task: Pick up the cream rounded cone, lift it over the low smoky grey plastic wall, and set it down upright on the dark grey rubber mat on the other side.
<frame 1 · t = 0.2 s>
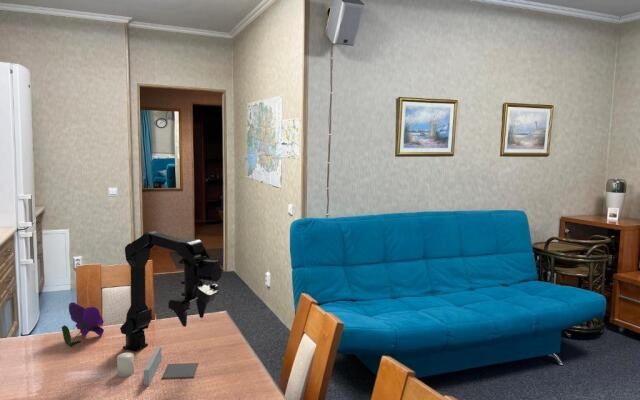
hand: (193, 321, 169), 14 cm above the table, tool pointing down, fingers open, 9 cm apart
flower: (81, 342, 188), on the table
wall: (153, 372, 163), on the table
cream rounded cone: (125, 373, 162), on the table
mat: (180, 371, 164), on the table
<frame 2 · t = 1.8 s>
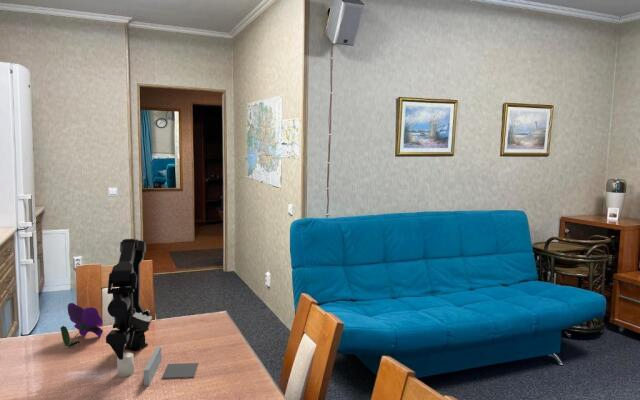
hand: (125, 353, 162), 7 cm above the table, tool pointing down, fingers open, 9 cm apart
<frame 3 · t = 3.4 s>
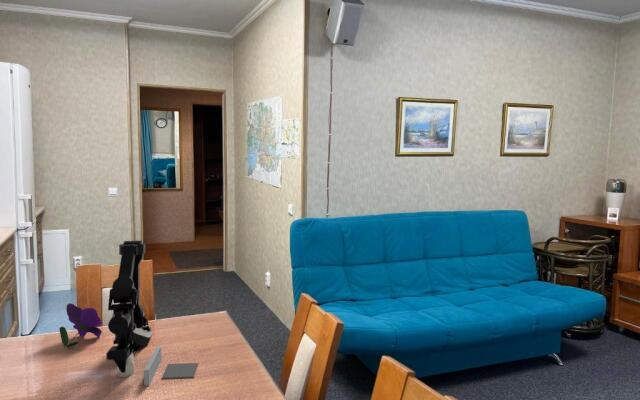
hand: (125, 368, 162), 2 cm above the table, tool pointing down, fingers closed on cream rounded cone, 5 cm apart
cream rounded cone: (125, 373, 162), on the table, touching gripper
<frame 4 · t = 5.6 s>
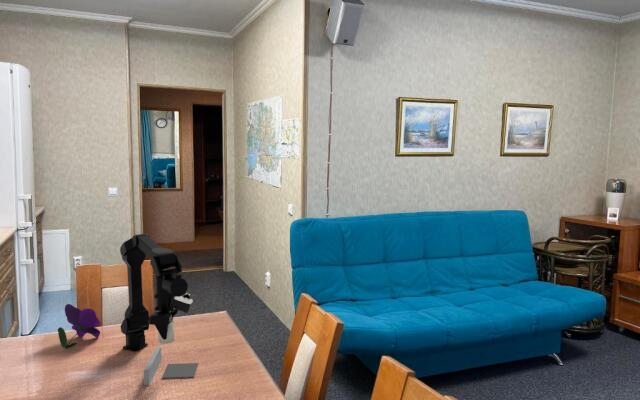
hand: (166, 336, 162), 12 cm above the table, tool pointing down, fingers closed on cream rounded cone, 5 cm apart
cream rounded cone: (166, 340, 162), point 11 cm above the table, touching gripper
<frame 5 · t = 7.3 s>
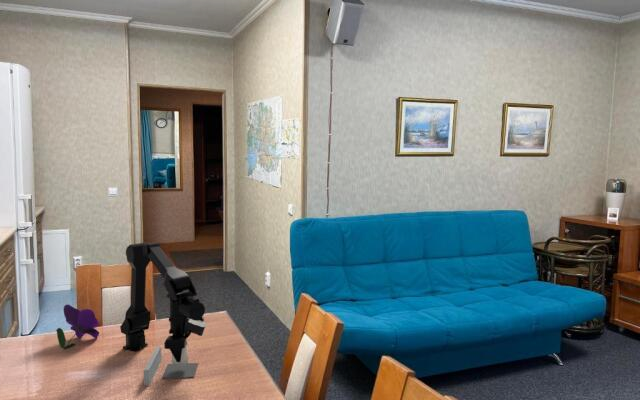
hand: (180, 358, 164), 4 cm above the table, tool pointing down, fingers closed on cream rounded cone, 5 cm apart
cream rounded cone: (180, 362, 164), point 3 cm above the table, touching gripper
when the fingers open (3 cm above the table, at t = 8.3 s): cream rounded cone drops 2 cm, resting on mat.
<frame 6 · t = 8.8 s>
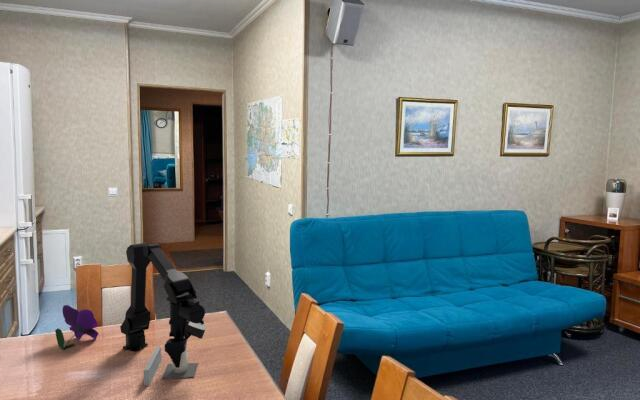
hand: (180, 361, 164), 3 cm above the table, tool pointing down, fingers open, 9 cm apart
cream rounded cone: (180, 370, 164), resting on mat
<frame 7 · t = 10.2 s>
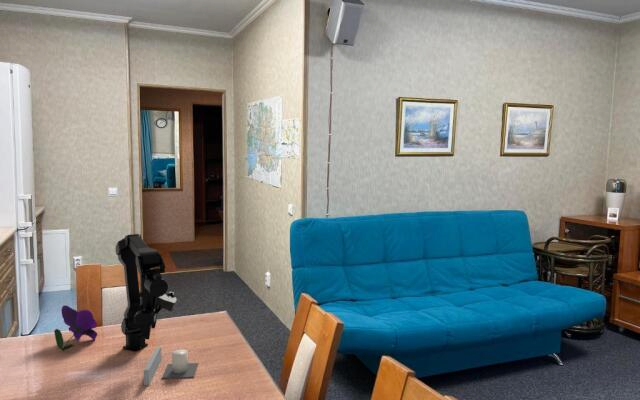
hand: (150, 333, 166), 12 cm above the table, tool pointing down, fingers open, 9 cm apart
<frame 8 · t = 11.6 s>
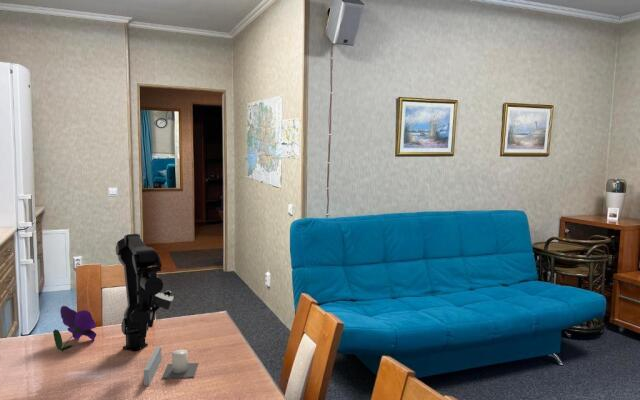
hand: (147, 332, 166), 12 cm above the table, tool pointing down, fingers open, 9 cm apart
at the end: cream rounded cone inside the target area on the mat (0.0 cm from its centre), point 0.4 cm above the mat's base; cream rounded cone tilted 0°; the gripper is holding nothing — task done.
